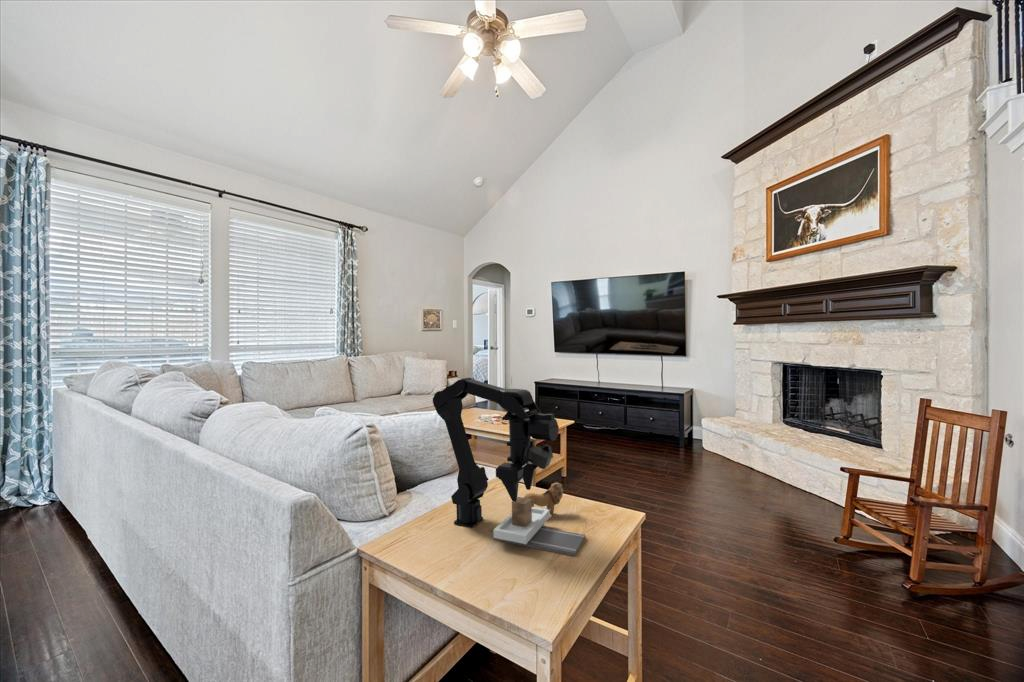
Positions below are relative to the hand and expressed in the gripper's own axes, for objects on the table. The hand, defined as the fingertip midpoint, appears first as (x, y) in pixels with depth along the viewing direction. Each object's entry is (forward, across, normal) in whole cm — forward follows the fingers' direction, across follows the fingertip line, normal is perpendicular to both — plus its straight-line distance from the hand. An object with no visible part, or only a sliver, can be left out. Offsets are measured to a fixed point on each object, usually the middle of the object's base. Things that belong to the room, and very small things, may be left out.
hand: (521, 495), depth 110 cm
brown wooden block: (+7, 0, 0) cm, 7 cm away
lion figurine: (+11, +15, 0) cm, 19 cm away
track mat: (+11, 0, -5) cm, 12 cm away
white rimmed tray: (+11, 0, 0) cm, 11 cm away
